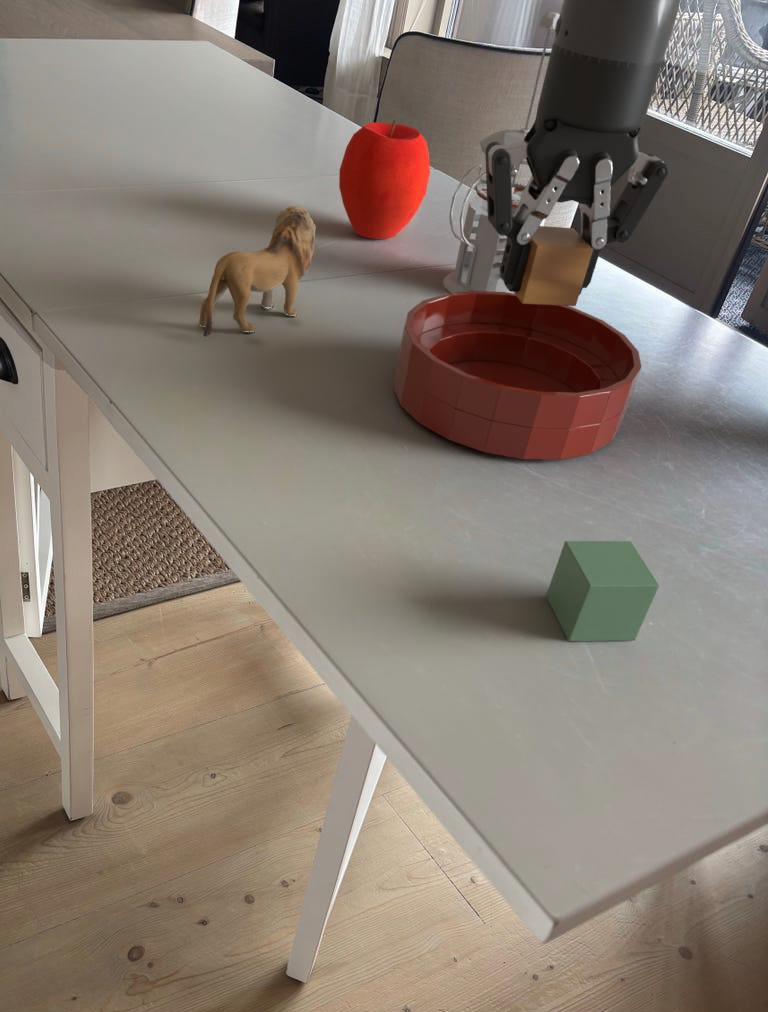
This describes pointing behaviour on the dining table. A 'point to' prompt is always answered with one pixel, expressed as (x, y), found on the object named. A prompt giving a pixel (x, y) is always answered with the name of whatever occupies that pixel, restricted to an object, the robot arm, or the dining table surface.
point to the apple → (383, 178)
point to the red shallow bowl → (515, 375)
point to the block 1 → (555, 267)
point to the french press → (485, 259)
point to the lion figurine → (264, 269)
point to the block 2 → (601, 590)
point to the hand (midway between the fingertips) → (541, 288)
